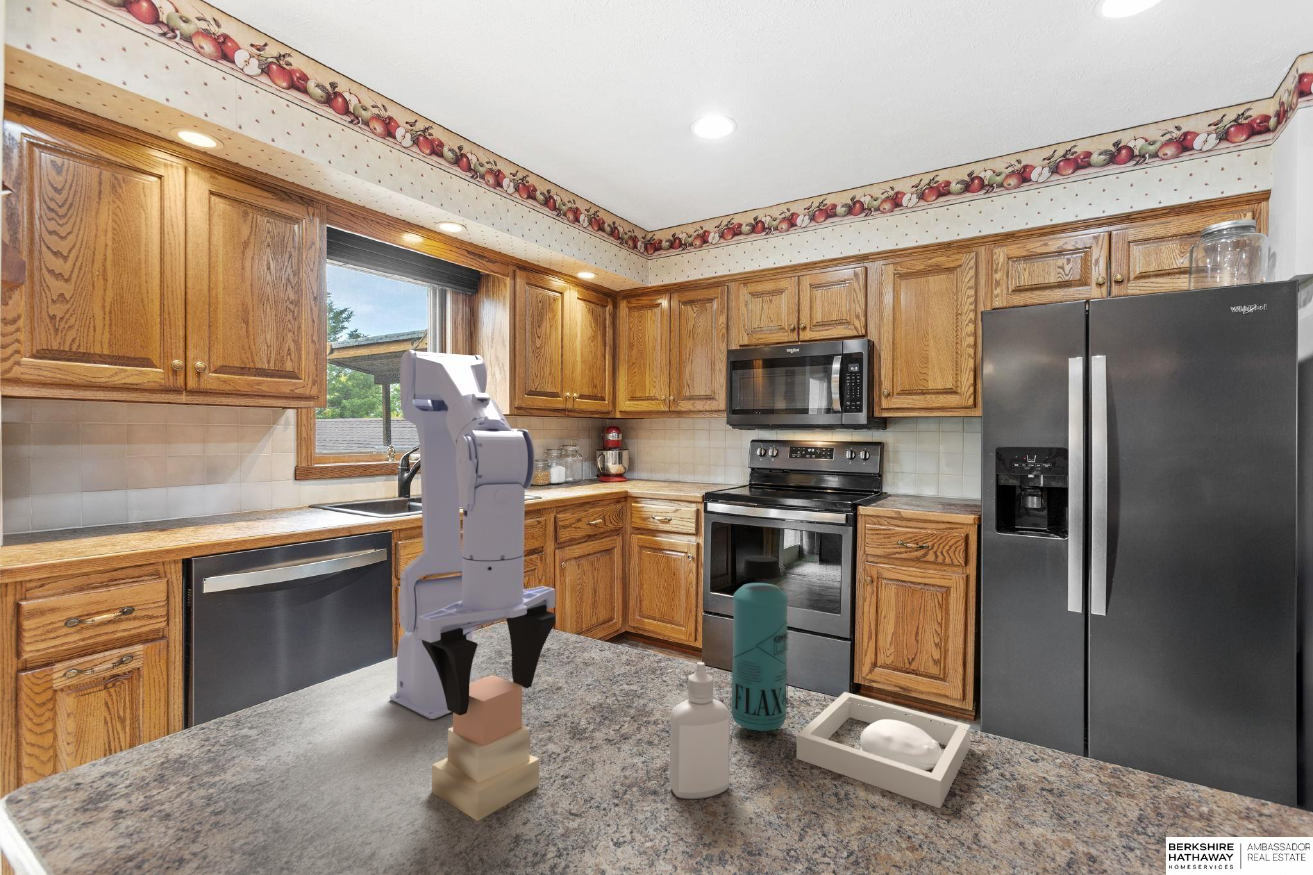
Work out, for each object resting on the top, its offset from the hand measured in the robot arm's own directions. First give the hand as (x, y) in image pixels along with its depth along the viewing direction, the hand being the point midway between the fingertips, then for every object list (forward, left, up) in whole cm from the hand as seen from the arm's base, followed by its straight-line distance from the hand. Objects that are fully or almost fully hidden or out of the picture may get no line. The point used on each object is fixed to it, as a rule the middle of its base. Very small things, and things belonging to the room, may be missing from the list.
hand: (491, 697), depth 59 cm
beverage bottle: (+15, +26, -9) cm, 31 cm away
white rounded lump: (+30, +29, -9) cm, 43 cm away
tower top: (0, 0, -6) cm, 6 cm away
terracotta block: (0, 0, -3) cm, 3 cm away
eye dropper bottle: (+16, +12, -9) cm, 22 cm away
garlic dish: (+28, +30, -8) cm, 42 cm away
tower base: (0, 0, -9) cm, 9 cm away
